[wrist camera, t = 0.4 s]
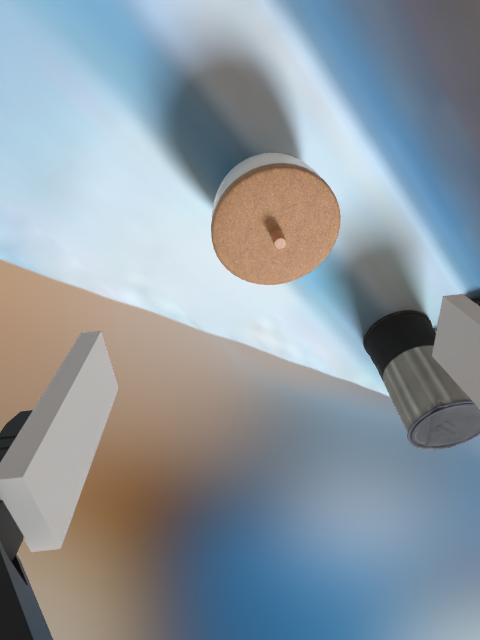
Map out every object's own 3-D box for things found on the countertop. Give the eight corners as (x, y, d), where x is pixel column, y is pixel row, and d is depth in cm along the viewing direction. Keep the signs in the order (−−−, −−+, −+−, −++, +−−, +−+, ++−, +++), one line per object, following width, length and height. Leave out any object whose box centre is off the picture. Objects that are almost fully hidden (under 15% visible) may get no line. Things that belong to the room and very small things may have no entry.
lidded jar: (199, 233, 39) (201, 288, 32) (220, 122, 32) (229, 161, 25) (296, 250, 42) (317, 304, 35) (334, 150, 35) (370, 192, 28)
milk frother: (348, 342, 52) (391, 438, 41) (447, 260, 45) (531, 352, 34) (410, 376, 59) (461, 466, 48) (505, 309, 51) (592, 399, 40)
